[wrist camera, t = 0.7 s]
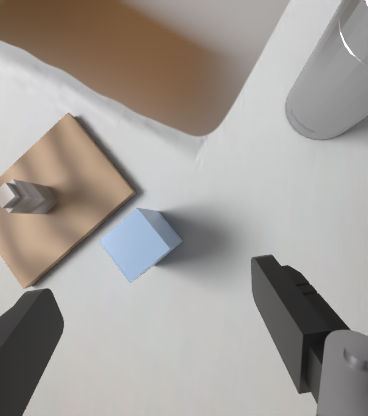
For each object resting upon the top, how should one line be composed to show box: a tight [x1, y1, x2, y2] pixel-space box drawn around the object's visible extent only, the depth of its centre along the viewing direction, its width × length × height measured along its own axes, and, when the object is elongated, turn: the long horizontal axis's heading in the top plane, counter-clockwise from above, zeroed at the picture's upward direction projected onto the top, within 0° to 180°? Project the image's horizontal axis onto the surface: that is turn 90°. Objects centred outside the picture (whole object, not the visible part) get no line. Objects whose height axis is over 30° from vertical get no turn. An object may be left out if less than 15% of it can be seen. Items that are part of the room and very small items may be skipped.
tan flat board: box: [0, 113, 136, 289], centre depth 32 cm, size 22×16×8 cm
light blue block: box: [99, 208, 183, 283], centre depth 29 cm, size 6×6×9 cm
